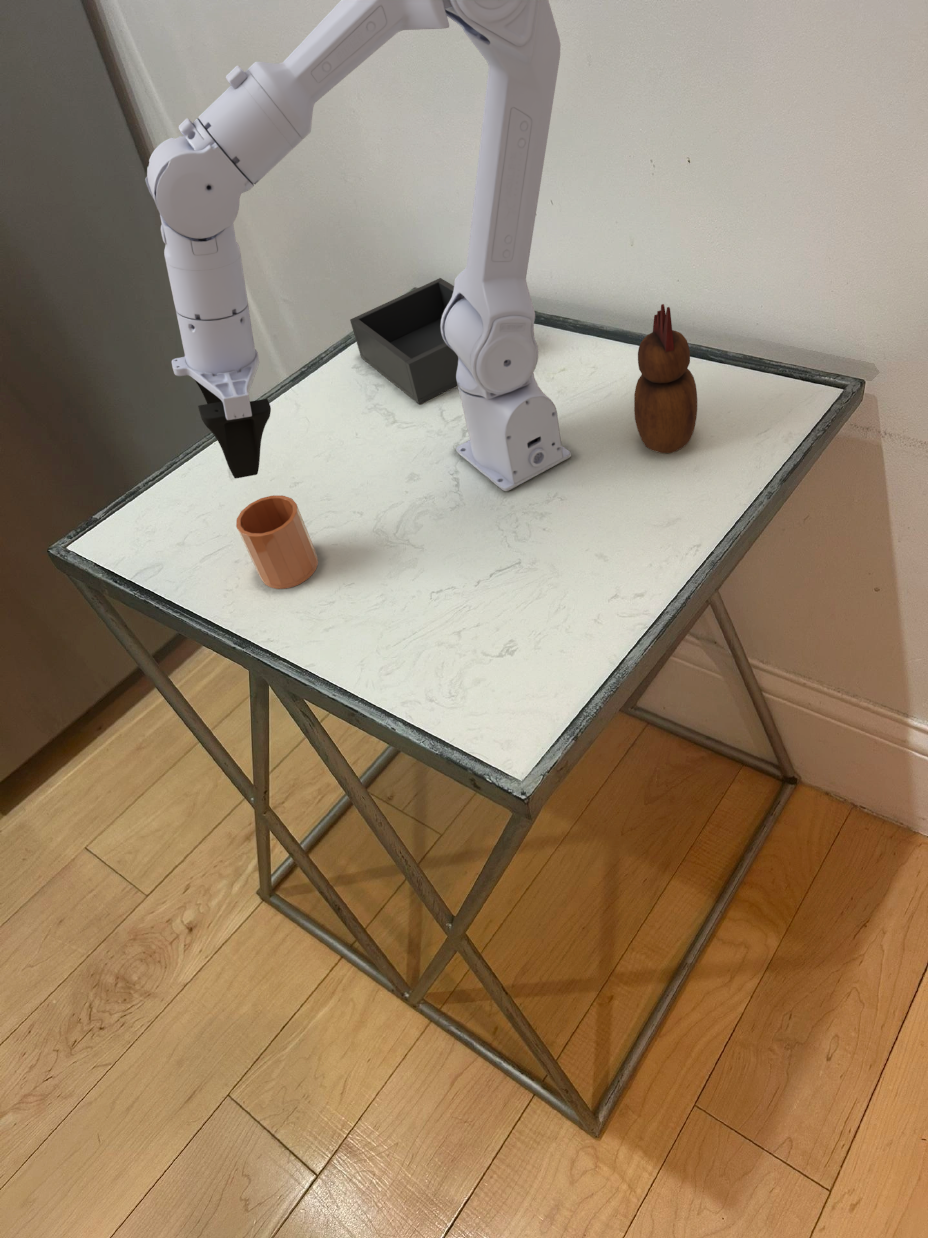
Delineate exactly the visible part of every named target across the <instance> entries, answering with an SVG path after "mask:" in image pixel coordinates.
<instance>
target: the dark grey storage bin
mask: <svg viewBox="0 0 928 1238" xmlns="http://www.w3.org/2000/svg"><path fill="white" fill-rule="evenodd" d="M453 291H454V285H453V284H451V282H448V281H447V280H445V279H443V278H441V277H439V278H437V279H435V280H433V281H430V282H428V283H426V284H424V285H422V286H419V287H418V288H416V289H413V290H411V291H409V292H407V293H404V294H403V295H400V296H397V297H396V298H394V299H391V300H389V301H387V302H385V303H383V304H381V305H379V306H376V307H373V308H372V309H370V310H368V311H366V312H363V313H361V314H359V315H357V316H355V317H352V318H350V319H349V321H350V324H351V328H352V331H353V335H354V338H355V342H356V345H357V348H358V352H359V356H360V358H361V360H363V361H364V362H366V363H367V364H368V365H369V366H370V367H372V368H373V369H374V370H376V371H377V372H378V373H379V374H381V376H383V377H384V378H386V380H388V381H389V382H390V383H391V384H393V385H394V386H395V387H397V388H398V389H399V390H400V391H401V392H403V393H404V394H405V395H407V396H408V397H409V398H410V399H411V400H413V401H414V402H415V403H416V404H418V405H421V404H423V403H425V402H427V401H429V400H431V399H433V398H436V397H437V396H439V395H442V394H443V393H446V392H447V391H449V390H451V389H453V388H456V387H458V384H457V380H456V373H457V367H458V356H457V354H456V353H455V352H454V351H453V350H452V349H451V348H449V347H448V346H447V344H446V343H445V341H444V339H443V337H442V334H441V326H440V325H441V318H442V315H443V312H444V310H445V308H446V307H447V305H448V303H449V302H450V300H451V297H452V295H453Z"/></svg>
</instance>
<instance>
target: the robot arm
mask: <svg viewBox="0 0 928 1238" xmlns="http://www.w3.org/2000/svg"><path fill="white" fill-rule="evenodd" d="M449 19H451V21H453V22H455V24H457V25H459V26H460V28H462V30H463V32H464V33H465V35H466V36H467V37H468V39H469V40H470V41H471V43H472V44H473V45H474V47H475V48H476V49H477V50H478V52H479V53H480V55H481V56H482V57H483V58H484V60H485V61H486V63H487V66H488V71H487V80H486V87H485V97H484V105H483V113H482V114H483V115H482V124H481V132H480V142H479V150H478V159H477V167H476V168H477V170H476V178H475V185H474V195H473V203H472V211H471V221H470V230H469V231H470V232H469V238H468V239H469V240H468V248H467V257H466V265H465V267H464V268H463V269H462V271H460V272H459V273H458V274H457V276H456V277H455V278H454V285H453V286H454V291H453V295H452V297H451V300H450V302H449V303H448V305H447V307H446V308H445V310H444V312H443V315H442V318H441V325H440V326H441V334H442V337H443V339H444V341H445V343H446V344H447V346H448V347H449V348H451V349H452V350H453V351H454V352H455V353H456V354H457V356H458V367H457V373H456V380H457V384H458V385H457V389H458V393H459V397H460V402H461V407H462V411H463V416H464V421H465V425H466V428H467V429H466V430H467V435H468V439H469V440H467V441H465V442H463V443H461V444H459V445H458V446H456V447H455V448H456V449H455V450H456V453H457V454H459V455H460V456H461V458H463V459H464V460H466V461H467V462H468V463H469V464H470V465H471V466H472V467H474V468H475V469H477V471H479V472H480V473H481V474H482V475H483V476H484V477H486V478H487V479H488V480H490V481H491V482H492V483H493V484H494V485H496V486H497V488H499V489H500V490H502V491H504V492H509V491H510V490H512V489H515V488H516V487H518V486H520V485H522V484H524V483H525V482H527V481H529V480H532V479H533V478H534V477H536V476H538V475H541V474H542V473H544V472H546V471H547V470H550V469H551V468H554V467H555V466H557V465H559V464H561V463H563V462H564V461H566V460H568V459H570V458H571V455H572V454H571V451H570V450H569V449H568V448H566V447H564V446H563V444H562V439H561V431H560V423H559V416H558V410H557V407H556V404H555V403H554V402H553V400H552V399H551V398H550V397H549V396H548V395H547V394H545V392H543V390H542V389H541V388H540V386H539V384H538V382H537V380H536V377H535V374H534V372H535V370H536V368H537V365H538V362H539V346H538V344H537V340H536V337H535V333H534V332H535V331H534V329H535V320H536V313H535V307H534V305H533V299H532V296H531V295H530V294H531V293H530V290H529V287H528V282H527V275H528V269H529V263H530V262H529V261H530V256H531V250H532V249H531V247H532V242H533V237H534V230H535V223H536V216H537V210H538V203H539V196H540V192H541V191H540V189H541V184H542V177H543V172H544V171H543V170H544V165H545V164H544V163H545V157H546V152H547V151H546V150H547V143H548V138H549V131H550V126H551V118H552V111H553V104H554V99H555V93H556V87H557V77H558V72H559V66H560V61H561V60H560V59H561V40H560V35H559V32H558V29H557V25H556V22H555V18H554V14H553V12H552V8H551V3H550V0H340V1H338V3H336V5H335V6H333V8H332V9H331V10H330V11H329V12H328V13H327V14H326V15H325V16H324V17H323V19H321V21H320V22H319V23H318V24H317V25H316V26H315V27H314V28H313V29H312V31H310V32H309V34H307V36H305V38H304V39H302V41H301V42H300V43H299V44H298V45H297V47H296V48H294V50H293V51H292V52H291V53H290V54H289V55H288V56H287V57H285V59H284V60H283V61H282V62H268V61H260V60H259V61H255V62H253V63H252V64H251V65H250V66H249V67H248V68H247V69H246V70H245V71H244V69H243V68H242V67H241V66H240V65H235V67H233V68H232V69H231V70H230V72H228V73H227V74H226V76H225V79H226V81H227V82H228V84H229V86H228V87H227V88H226V90H225V91H223V92H222V93H221V94H220V95H219V96H218V97H217V98H216V99H214V100H213V102H212V103H211V104H210V105H208V107H206V108H205V110H204V111H203V112H202V113H201V114H199V115H198V117H197V118H196V119H195V120H193V121H191V119H190V118H189V117H186V118H185V119H183V121H182V122H181V123H180V124H179V125H178V130H179V132H180V133H181V135H178V137H176V138H175V137H174V136H173V137H169V138H167V139H165V140H163V141H162V142H160V143H159V144H158V145H157V146H156V147H155V149H154V150H153V151H152V153H151V155H150V157H149V159H148V162H149V163H148V166H147V168H146V177H145V179H144V182H145V184H146V187H147V189H148V192H149V194H150V196H151V197H152V199H153V200H154V201H153V202H154V203H155V206H156V209H157V211H158V213H159V218H160V222H161V224H160V234H161V238H162V239H161V240H162V241H163V243H164V250H163V253H164V254H163V256H164V261H165V265H166V270H167V275H168V280H169V285H170V289H171V294H172V299H173V304H174V308H175V314H176V318H177V323H178V328H179V333H180V339H181V344H182V347H183V352H184V356H182V357H176V358H173V359H172V360H171V367H172V370H173V374H174V376H175V377H176V376H177V377H183V376H184V377H185V376H189V377H191V379H193V380H194V382H195V383H196V385H197V386H198V388H199V390H200V391H201V393H202V395H203V397H204V400H205V402H206V403H205V404H200V405H197V408H198V412H199V416H200V418H201V420H202V422H203V424H204V425H205V426H206V428H207V429H208V430H209V431H210V432H211V434H212V435H213V436H214V437H215V439H216V441H217V442H218V444H219V446H220V449H221V451H222V453H223V456H224V459H225V461H226V465H227V467H228V469H229V471H230V474H231V475H232V476H233V478H234V479H241V478H246V477H247V478H248V477H252V476H257V475H258V474H259V469H260V460H261V445H262V439H263V435H264V431H265V428H266V425H267V423H268V421H269V419H270V417H271V414H272V413H271V412H272V407H271V404H270V402H269V400H268V398H263V399H262V398H261V399H255V400H250V391H251V388H252V385H253V382H254V380H255V377H256V374H257V372H258V369H259V365H260V357H259V352H258V350H257V349H256V347H255V340H254V334H253V333H254V332H253V325H252V319H251V313H250V308H249V307H250V306H249V300H248V294H247V287H246V280H245V273H244V267H243V259H242V254H241V248H240V245H239V243H238V242H237V237H236V232H235V226H234V223H235V221H236V219H237V217H238V213H239V210H240V199H241V196H242V194H243V193H247V192H249V191H250V190H251V189H253V187H254V186H255V185H257V184H258V183H259V182H260V181H261V180H262V179H263V178H264V177H265V176H266V175H267V174H269V173H270V171H272V169H274V168H275V167H276V166H277V165H278V164H279V163H280V162H281V161H282V160H283V159H284V158H286V156H287V155H288V154H290V153H291V151H293V150H294V149H295V148H296V147H298V145H299V144H300V143H302V141H303V140H304V139H305V138H307V137H308V136H309V135H310V134H311V132H312V125H313V114H314V107H315V104H316V103H317V102H319V100H320V99H322V98H323V97H324V96H326V94H327V93H328V92H330V91H331V90H333V88H334V87H336V86H337V85H338V84H339V83H340V82H341V81H344V79H345V78H347V76H348V75H350V74H351V73H352V72H353V71H355V70H356V69H357V68H358V67H359V66H360V65H362V64H363V63H364V62H365V61H366V60H368V59H369V58H370V57H371V56H372V55H374V54H375V52H377V51H378V50H379V49H381V47H383V46H384V45H385V44H386V43H388V41H390V40H391V39H392V38H393V37H394V36H395V35H397V34H398V33H399V32H402V31H414V30H415V31H416V30H417V31H419V30H440V29H441V30H442V29H448V28H450V23H449Z"/></svg>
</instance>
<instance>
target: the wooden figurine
mask: <svg viewBox="0 0 928 1238" xmlns="http://www.w3.org/2000/svg"><path fill="white" fill-rule="evenodd" d="M652 323H653V324H652V332H650V333H648V334H647V335H646V336H645V337H644V338H643V339H642V341H640V344H639V346H638V350H637V366H638V370H639V372H640V374H641V375H640V376H639V377H638V379H637V382H636V385H635V389H634V395H633V398H634V399H633V401H634V402H633V404H634V405H633V412H634V422H635V426H636V430H637V432H638V435H639V437H640V439H641V441H642V443H643V445H644V446H645V447H646V448H647V449H648V450H650V451H652V452H654V453H655V452H656V453H660V454H672V453H676V452H678V451H679V450H681V449H682V448H684V447H686V446H687V445H688V443H689V442H690V441H691V440H692V437H693V435H694V431H695V427H696V423H697V417H698V392H697V384H696V381H695V377H694V375H693V374H692V371H691V370H690V369H688V368H689V366H690V363H691V350H690V347H689V343H688V339H687V338H686V337H685V336H684V335H683V334H682V333H681V332H679V331H677V330H673V324H672V314H671V307H670V306H668V307H667V306H666V308H665V304H664V303H662V304H660V310H657V312H656V314H654V315H653V322H652Z"/></svg>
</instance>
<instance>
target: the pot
mask: <svg viewBox="0 0 928 1238" xmlns="http://www.w3.org/2000/svg"><path fill="white" fill-rule="evenodd" d="M235 527H236V529H237V532H238V534H239V536H240V538H241V540H242V542H243V544H244V546H245V549H246V551H247V553H248V555H249V557H250V559H251V562H252V563H253V566H254V568H255V570H256V572H257V575H258V576H259V577H260V580H261V582H262V583H263V585H265V586H266V587H269V588H271V589H276V590H277V589H278V590H280V589H281V590H284V589H289V588H290V589H291V588H294V587H296V586H298V585H301V584H302V583H304V582H306V581H308V580H309V579H310V578H311V577H312V576H313V574H315V572H316V570H317V568H318V565H319V558H318V555H317V551H316V549H315V547H314V544H313V542H312V539H311V536H310V534H309V532H308V529H307V527H306V524H305V521H304V519H303V516H302V514H301V512H300V509H299V506H298V504H297V503H296V501H295V500H294V499H293V498H291V497H289V496H286V495H280V494H279V495H278V494H277V495H275V494H274V495H268V496H264V497H261V498H258V499H256V500H254V501H253V502H251V503H250V502H249V504H247V506H246V507H244V508H243V509H242V510H241V511H240V512H239V514H238V516H237V518H236V525H235Z"/></svg>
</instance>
